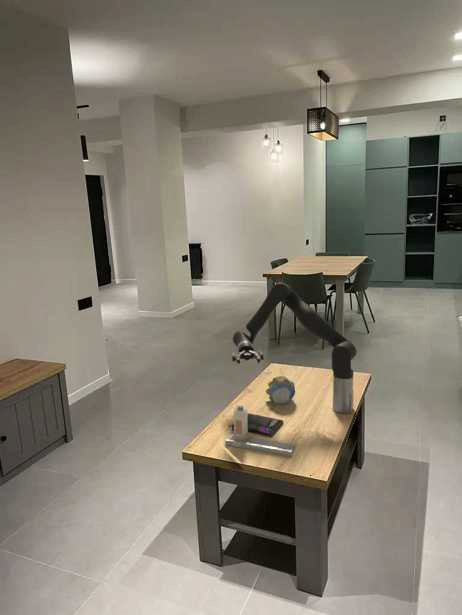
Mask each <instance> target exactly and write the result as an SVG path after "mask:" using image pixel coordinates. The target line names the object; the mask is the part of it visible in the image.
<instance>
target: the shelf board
mask: <svg viewBox="0 0 462 615" xmlns="http://www.w3.org/2000/svg"><path fill="white" fill-rule="evenodd" d="M229 438H230V439H229V440H234V433H233V434H232V435H231V437H229ZM246 443H252V444H258V445H263V446H269V447H275V448H281V449H287V450H292V456H293V454H294V452H295V450H296V449H297V446H298V444H297V443H291V442H284V441H278V440H273V439H267V438H261V437H255V436H249V435H248V441H247V442H246ZM226 446H227V447H230V446H229V445H226ZM231 447H234V448H236V447H235V446H231ZM237 448H239V449H241V448H240V447H237ZM243 449H246V448H243ZM246 450H247V449H246ZM248 450H250V451H252V450H251V449H248ZM254 451H255V452H258V451H257V450H254ZM259 452H261V453H264V452H263V451H259ZM265 453H266V454H269V453H268V452H265ZM271 454H274V453H271ZM274 455H275V454H274ZM276 455H278V456H280V455H279V454H276ZM282 456H285V455H282ZM292 456H287V457H289V458H292ZM285 457H286V456H285Z"/></svg>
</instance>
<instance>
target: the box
mask: <svg viewBox="0 0 462 615" xmlns="http://www.w3.org/2000/svg"><path fill="white" fill-rule="evenodd" d="M247 422H248V433H251V434H254V435H255V434H256V435H260V436H263V437H265V436H266V437H270V438H273V436H274V435H276V433H277V432H278V430H279V429H280V428H281V427H282V425H284V419H278V418H273V417H269V416H263V415H259V414H255V413H253V414H252V413H249V412H247ZM230 429H231V432H234V423H233V424H232V425H231V427H230Z"/></svg>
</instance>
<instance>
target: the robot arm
mask: <svg viewBox="0 0 462 615" xmlns="http://www.w3.org/2000/svg"><path fill="white" fill-rule="evenodd" d="M280 303H282V304H283V305H284V306H286V307H288V309H289V310H291V312H292V313H293V315H294V316H295V317H296V318H297V321H299V322H300V324H301V326H303V327H304V328H305V329H306V330H307V331H308V332H309V333H311V334H312V335H314V336H315V337H318V338H320V339H321V340H324V341H325V342H326V343H328V344H329V345H330V346H332V348H333V349H332V351H331V370H332V373H333V376H332V378H333V379H332V387H333V388H332V410H333V411H334V412H336V413H339V414H352V412H353V409H354V395H355V394H354V391H355V389H354V370H353V369H352V360H353V359H354V358H355V357H356V356H357V349H356V347H355V345H354V343H352V341H350V340H348V339H347V338H346V337H345V336H344V335H342V334H340V333H339V332H338V331H337V330H336V328H334V327H333V326H332V325H331V324H329V322H328V321H327V320H325V319H324V317H323V316H322V315H320V313H318V311H316V310H315V309H313V308H312V307H311V306H310V305H309V304H308V303H306V302H305V301H303V300H302V298H300V296H298V294H297V293H296V292H295V291H294V290H293V289H292V287H291V286H290V285H289V284H287V283H284V282H283V283H282V282H277V283H275V284H273V285H272V287H271V288H270V290H269V292H268V294H267V296H266V298H265V299H264V301H263V302H262V304H261V306H260V307H259V308H258V309H257V311H256V312H255V314H254V315H253V316H252V318H251V319H250V320H249V321H248V322H247V323H246V325H245V328H246V330H247V331H248V332H249V334H250V335H249V334H247V333H246V332H244V331H242V330H236V332H235V333H234V334H233V335H232V336H233V337H232V341H233V343H234V345H235V346H236V347H237V353H236V352H235V351H233V352H232V351H231V357H232V358H231V360H232V362H236V364H239V365H240V364H241V362H243V361H250V360H252V361H257V364H260V362H261V361H264V352H263V351H262V350H258V351H257V352H256V351H255V348H254V346H253V344H254V341H255V339H256V336H257V335H258V334H259V332H260V331H261V329H262V328H263V327H264V326H265V324H266V323H267V321H268V319H269V317H270V315H271V314H272V312H273V311H274V310H275V308H276V307H277V306H279V304H280Z"/></svg>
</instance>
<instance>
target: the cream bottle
mask: <svg viewBox="0 0 462 615" xmlns="http://www.w3.org/2000/svg"><path fill="white" fill-rule="evenodd" d="M247 413H248V408H247V407H245V406H243V405H237V406H236V407H234V408H233V424H234V431H233V432H234V433H233V434H234V440H235V441H240V442H247V441H248V436H249V432H248V422H247Z"/></svg>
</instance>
